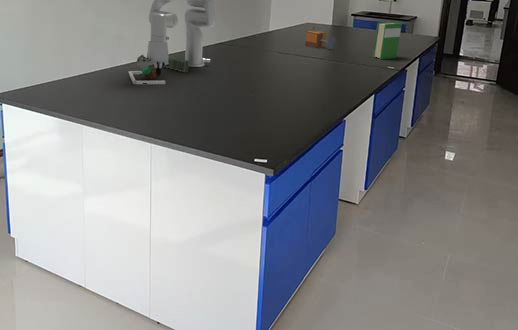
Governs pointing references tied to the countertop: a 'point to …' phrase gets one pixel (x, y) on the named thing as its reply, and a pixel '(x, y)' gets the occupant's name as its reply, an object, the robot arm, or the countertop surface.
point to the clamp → (318, 39)
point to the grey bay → (142, 81)
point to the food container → (147, 67)
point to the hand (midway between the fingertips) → (157, 75)
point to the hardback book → (387, 40)
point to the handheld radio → (177, 64)
